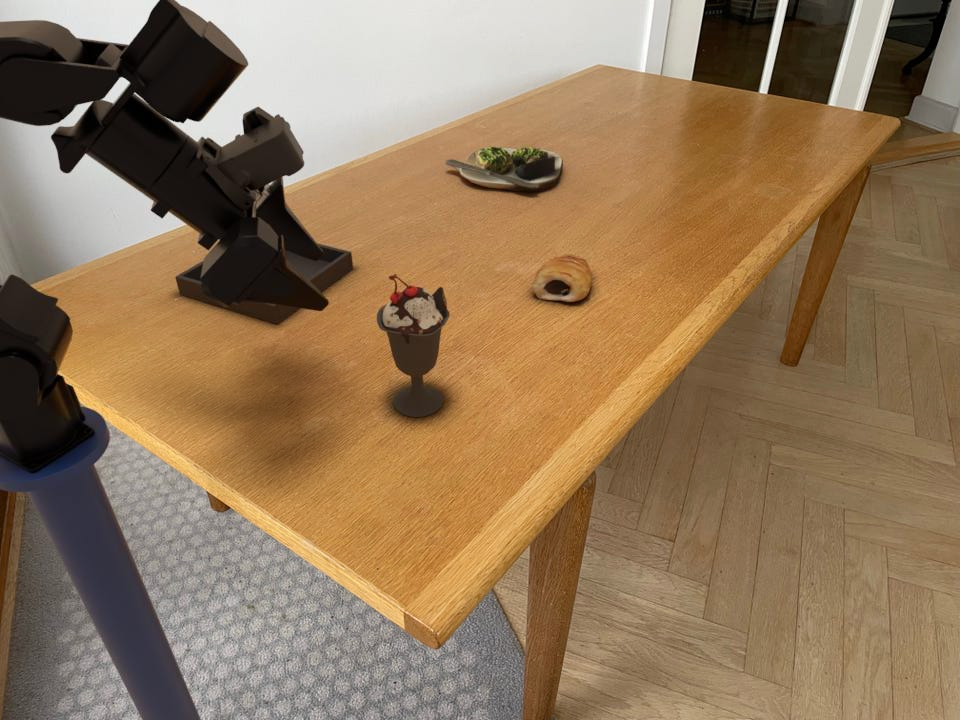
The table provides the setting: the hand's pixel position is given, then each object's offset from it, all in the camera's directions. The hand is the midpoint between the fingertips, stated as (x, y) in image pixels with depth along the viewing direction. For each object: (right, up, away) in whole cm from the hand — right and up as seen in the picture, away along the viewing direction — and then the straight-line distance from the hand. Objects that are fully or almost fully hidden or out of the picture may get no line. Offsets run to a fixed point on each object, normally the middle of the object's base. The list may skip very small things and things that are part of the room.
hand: (323, 280), depth 64 cm
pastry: (+24, +2, +26) cm, 36 cm away
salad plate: (+20, +24, +58) cm, 65 cm away
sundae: (+8, -11, +8) cm, 16 cm away
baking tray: (-13, +3, +27) cm, 30 cm away
